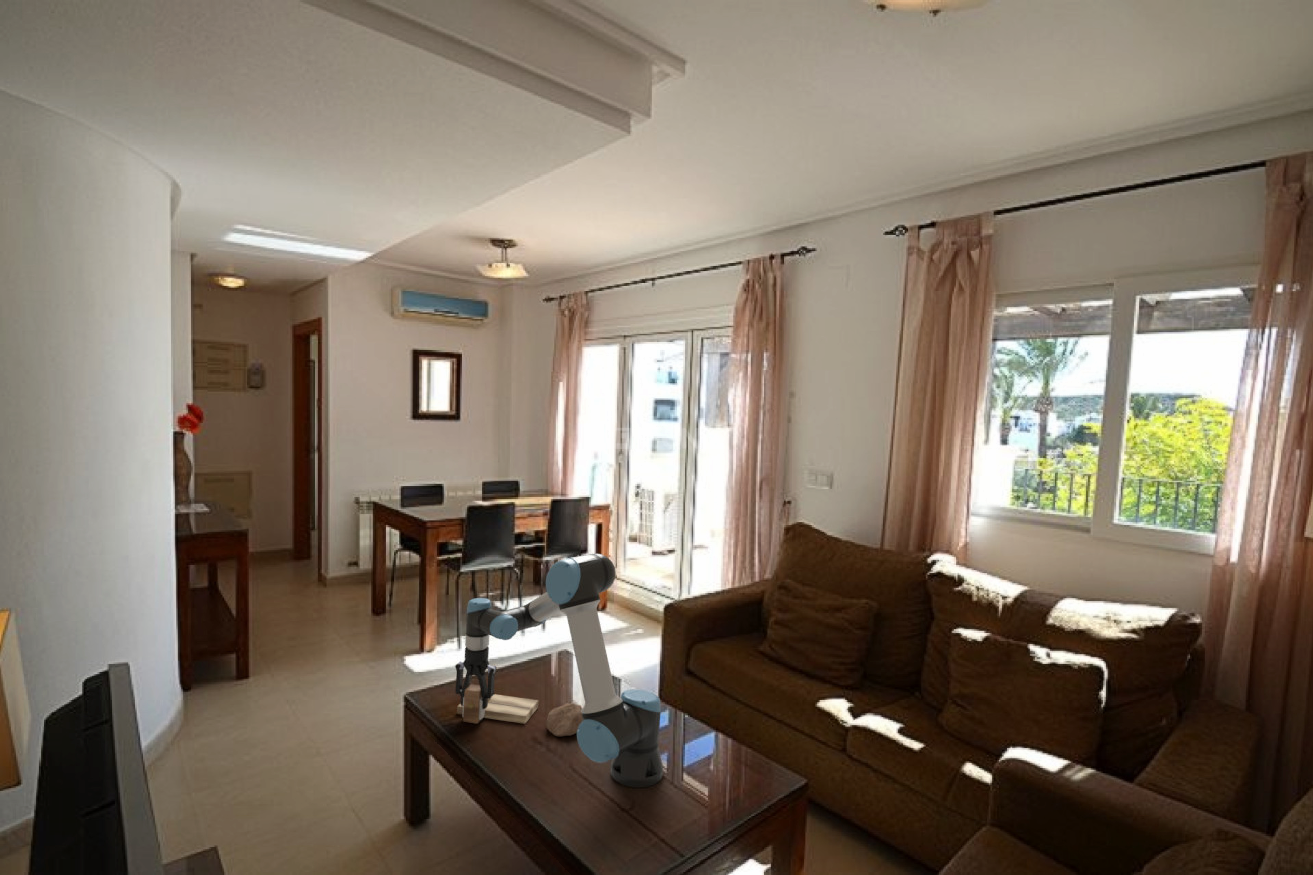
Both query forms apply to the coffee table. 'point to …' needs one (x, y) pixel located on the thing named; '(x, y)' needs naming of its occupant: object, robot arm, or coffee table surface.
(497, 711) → the board
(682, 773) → the coffee table surface
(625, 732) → the robot arm
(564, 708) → the stone
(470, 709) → the block
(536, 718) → the coffee table surface
